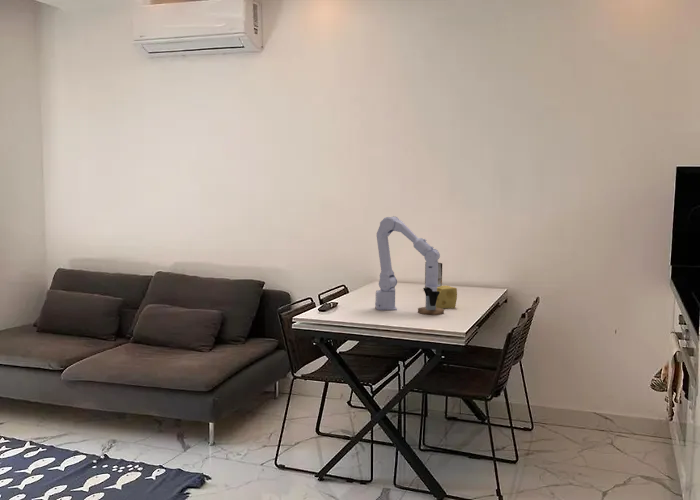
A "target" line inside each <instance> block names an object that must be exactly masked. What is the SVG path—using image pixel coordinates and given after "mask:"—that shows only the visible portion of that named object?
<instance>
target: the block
mask: <svg viewBox="0 0 700 500" xmlns="http://www.w3.org/2000/svg"><path fill="white" fill-rule="evenodd" d="M424 307H425V309H427V310H436V304H435V306H430V300H429V296H426V295H425V306H424Z"/></svg>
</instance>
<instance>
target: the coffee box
mask: <svg viewBox="0 0 700 500" xmlns="http://www.w3.org/2000/svg"><path fill="white" fill-rule="evenodd" d="M424 263H425V264H424V265H425V266H424V282H425V281H426V261H425V262H424ZM438 285H440V286H443V262H442V263H441V262H438ZM424 288H427V287H425V286H424Z"/></svg>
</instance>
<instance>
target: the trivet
mask: <svg viewBox="0 0 700 500" xmlns="http://www.w3.org/2000/svg"><path fill="white" fill-rule="evenodd" d="M425 307H426V306H424V307H423V306H422V307H418V308H417V313H418V314H420V315H429V316H437V315H438V316H439V315H444V314H445V308H443V309H442V308H437V307H436V310H427V309H425Z"/></svg>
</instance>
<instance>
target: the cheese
mask: <svg viewBox="0 0 700 500" xmlns="http://www.w3.org/2000/svg"><path fill="white" fill-rule="evenodd" d="M437 291H439V292H440V293H439V295H438V297H437V300H436V307H437V308H442V309H456V305H457V299H458V289H457V287H453V286H450V285H442V286H440V287H437Z"/></svg>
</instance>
